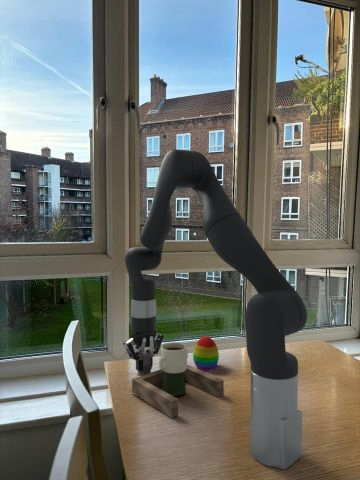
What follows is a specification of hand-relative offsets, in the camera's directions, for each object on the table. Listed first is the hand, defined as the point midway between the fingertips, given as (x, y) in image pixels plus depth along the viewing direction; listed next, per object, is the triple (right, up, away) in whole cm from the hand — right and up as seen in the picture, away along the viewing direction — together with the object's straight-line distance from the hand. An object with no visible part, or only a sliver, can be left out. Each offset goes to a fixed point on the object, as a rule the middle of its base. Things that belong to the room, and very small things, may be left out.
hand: (144, 370), depth 116 cm
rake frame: (+8, -3, -9) cm, 12 cm away
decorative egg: (+19, -2, +7) cm, 20 cm away
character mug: (+9, -3, -10) cm, 14 cm away
